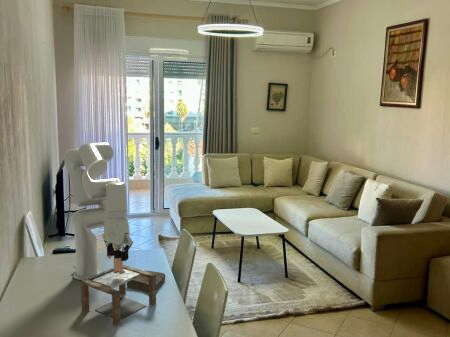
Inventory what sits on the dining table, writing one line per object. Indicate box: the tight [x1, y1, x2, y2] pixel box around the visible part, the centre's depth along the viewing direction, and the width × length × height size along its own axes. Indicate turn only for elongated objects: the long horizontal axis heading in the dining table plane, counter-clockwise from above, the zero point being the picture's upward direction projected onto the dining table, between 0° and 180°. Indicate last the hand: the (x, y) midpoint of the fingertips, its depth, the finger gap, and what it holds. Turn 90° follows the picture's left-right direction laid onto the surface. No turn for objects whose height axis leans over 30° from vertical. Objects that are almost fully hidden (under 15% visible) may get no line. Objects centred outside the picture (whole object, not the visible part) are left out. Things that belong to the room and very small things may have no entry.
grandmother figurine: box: [107, 244, 128, 274], centre depth 167 cm, size 8×4×13 cm, turn 87°
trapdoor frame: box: [80, 264, 157, 327], centre depth 169 cm, size 20×21×13 cm
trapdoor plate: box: [88, 267, 140, 289], centre depth 170 cm, size 13×15×1 cm
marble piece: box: [126, 270, 166, 294], centre depth 192 cm, size 17×15×4 cm
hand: (117, 257), depth 167 cm, fingers closed on grandmother figurine, 7 cm apart
